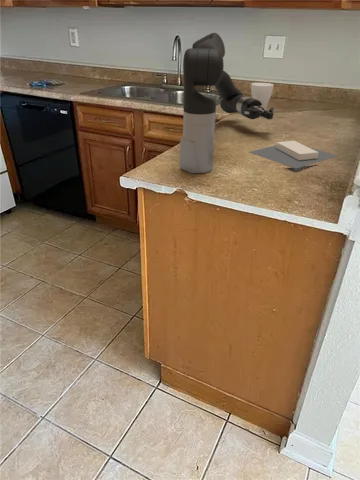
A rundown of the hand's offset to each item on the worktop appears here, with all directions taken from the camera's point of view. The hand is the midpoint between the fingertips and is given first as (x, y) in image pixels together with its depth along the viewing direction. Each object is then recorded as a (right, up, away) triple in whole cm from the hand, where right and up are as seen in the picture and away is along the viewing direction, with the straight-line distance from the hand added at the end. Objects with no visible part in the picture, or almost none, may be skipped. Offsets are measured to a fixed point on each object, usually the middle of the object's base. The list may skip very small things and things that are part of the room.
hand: (270, 116), depth 138 cm
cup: (+6, +17, +49) cm, 52 cm away
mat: (+5, -17, -10) cm, 21 cm away
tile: (+4, -12, -5) cm, 13 cm away
